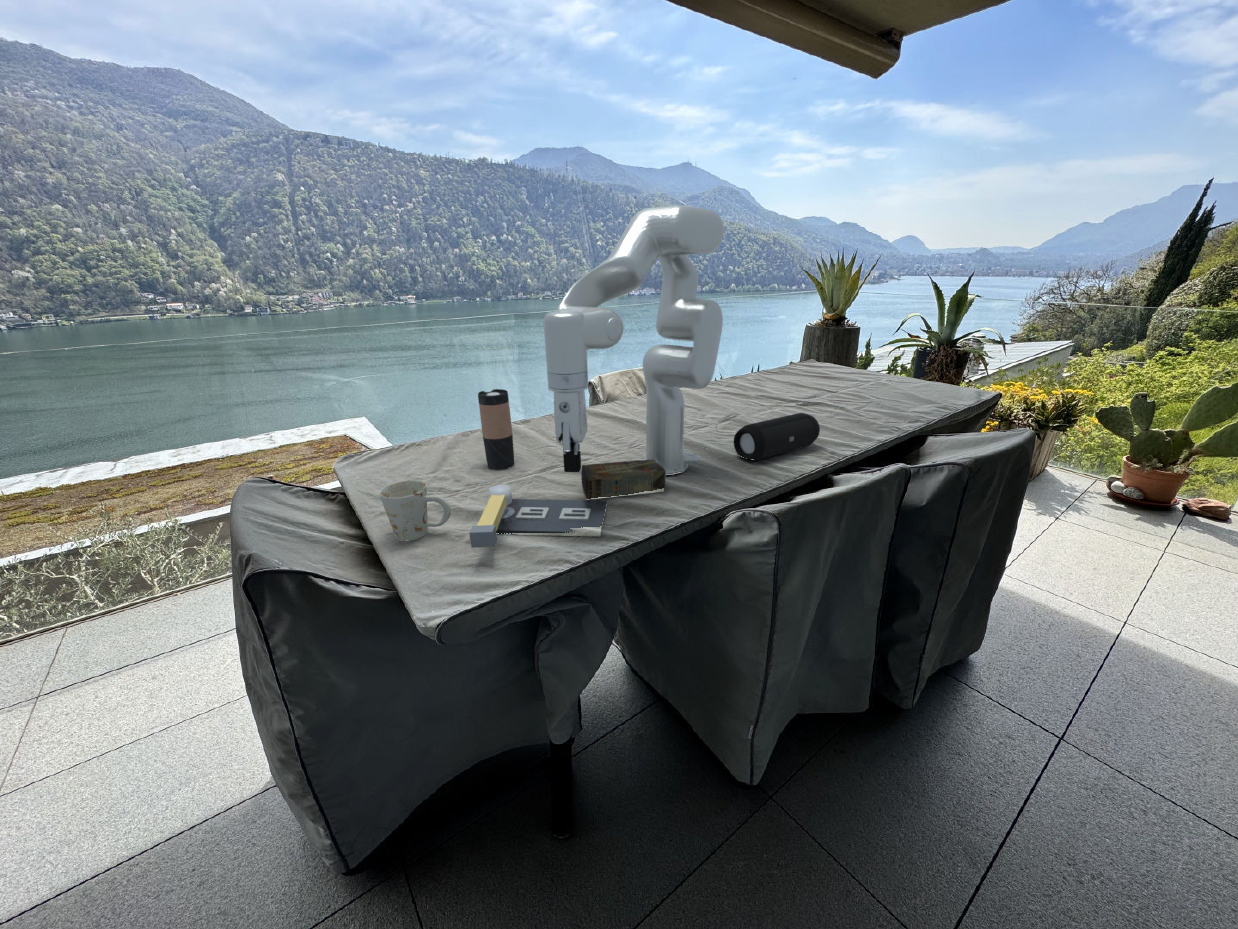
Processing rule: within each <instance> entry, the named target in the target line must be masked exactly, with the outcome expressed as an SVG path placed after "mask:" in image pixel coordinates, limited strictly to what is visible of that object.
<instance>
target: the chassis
mask: <svg viewBox="0 0 1238 929" xmlns="http://www.w3.org/2000/svg"><path fill="white" fill-rule="evenodd" d="M606 504H607V505H608V500H598V499H596V500H586V499H585V500H584V499H583V500H582V499H547V498H546V499H543V498H542V499H541V498H539V499H537V498H534V499H533V498H512V502H511V503H510V504H509V505H506V507H505V510H504V513H503V515H502V518H501V520H500V523H499V526H498V528H497V531H496V533H499V534H501V533H502V534H504V533H505V534H506V533H508V534H509V533H511V534H512V533H565V532H566V533H567V532H568V533H569V532H573V530H572V529H570V528H581V527H582V528H583V527H600V526H602V522H603V518H604V519H605V517H604V514H605V515H606V512H605V509H606V510H607V507H606ZM603 523H604V522H603ZM602 527H603V526H602ZM574 532H575V531H574Z"/></svg>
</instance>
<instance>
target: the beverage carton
mask: <svg viewBox="0 0 1238 929" xmlns="http://www.w3.org/2000/svg"><path fill="white" fill-rule="evenodd" d="M580 474H581V479H580V480H581V487H582V491H583V493H584V496H585V500H586V499H591V498H598V497H611V496H619V495H628V494H634V493H639V492H644V491H653V490H657V489H662V488H665V489H666V476H665V475H666V471H665V469H664V468H663V467H662V465H661V464H660V463H659V461H658V460H657V459H652V460H643V459H641V460H640V459H639V460H626V461H614V462H603V463H592V464H591V463H588V464H581V470H580Z"/></svg>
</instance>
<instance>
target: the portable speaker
mask: <svg viewBox="0 0 1238 929" xmlns="http://www.w3.org/2000/svg"><path fill="white" fill-rule="evenodd" d="M820 432H821V429H820V424H819V422H818V420H817V418H815V417H814V416H813V415H811V414H807V413H804V412H799V413H794V414H790V415H785V416H781V417H780V416H779V417H776V418H770V419H768V420H763V421H758V422H754V423H749V424H746V425H744V426H743V427H741V428H740V429H738V430H737V431H736V433H735V434H734V438H733V447H734V450H735V452H736V454H737V455H738V456H739V455H740V456H742V457H744V458H747V459H754V460H755V461H759V460H762V458H763V459H766V458H769V456H770V457H773V456H776V455H775V454H777V455H780V453H781V454H784V453H787V451H788V452H791V451H795V450H798V448H799V449H801V448H802V449H803V448H805V447H809V446H811V445H812V444H813V443H814V442H815V441H816V440H817V438H818V437H819V436H820ZM794 449H795V450H794ZM772 455H773V456H772ZM740 456H739V457H740ZM765 457H766V458H765ZM747 459H746V460H747ZM758 459H759V460H758Z"/></svg>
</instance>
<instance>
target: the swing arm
mask: <svg viewBox="0 0 1238 929" xmlns="http://www.w3.org/2000/svg"><path fill="white" fill-rule="evenodd" d="M488 493H489V499H488V501H487V504H486V505H485V508H484V510H483V512H482V513H481V516H480V518H479V520H478V522H477V524H476V525H472V526H471V528H470V530H469V532H468V533H469V540H470V546H471V547H470V548H473V549H474V548H493V547H494V548H495V547H496V544H497V541H498V536H497V535H498V534H496V531H497V528H498V526H499V523H500V520H501V518H502V515H503V513H504V510H505V507H506V505H509V504H510V503H511V502H512V499H513V496H512V495H513V494H512V488H511V486H510V485H508V484H497V485H493V486H491V487H489V489H488Z"/></svg>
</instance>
